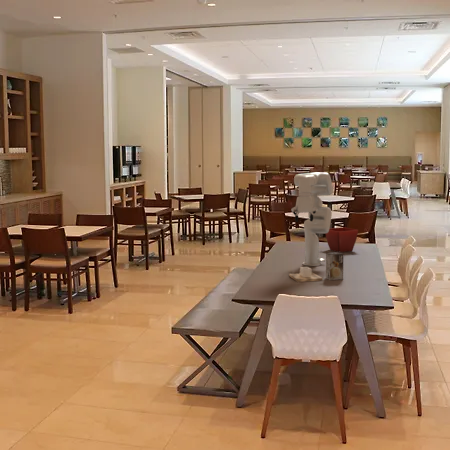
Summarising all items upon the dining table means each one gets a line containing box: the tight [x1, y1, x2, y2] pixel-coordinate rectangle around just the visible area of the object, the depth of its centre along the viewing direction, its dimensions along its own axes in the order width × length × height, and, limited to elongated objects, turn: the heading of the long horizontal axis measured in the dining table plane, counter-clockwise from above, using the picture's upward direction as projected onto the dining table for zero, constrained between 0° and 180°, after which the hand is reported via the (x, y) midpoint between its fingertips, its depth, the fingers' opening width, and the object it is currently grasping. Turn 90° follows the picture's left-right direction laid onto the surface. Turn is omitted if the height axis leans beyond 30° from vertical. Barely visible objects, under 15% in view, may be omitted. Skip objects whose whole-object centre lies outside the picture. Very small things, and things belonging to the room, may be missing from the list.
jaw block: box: [299, 266, 313, 277], centre depth 384 cm, size 5×7×5 cm
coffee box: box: [325, 251, 344, 281], centre depth 383 cm, size 9×6×16 cm
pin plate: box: [288, 272, 323, 283], centre depth 385 cm, size 16×16×6 cm
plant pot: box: [325, 226, 359, 253], centre depth 481 cm, size 19×19×17 cm
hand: (304, 221), depth 399 cm, fingers open, 9 cm apart
